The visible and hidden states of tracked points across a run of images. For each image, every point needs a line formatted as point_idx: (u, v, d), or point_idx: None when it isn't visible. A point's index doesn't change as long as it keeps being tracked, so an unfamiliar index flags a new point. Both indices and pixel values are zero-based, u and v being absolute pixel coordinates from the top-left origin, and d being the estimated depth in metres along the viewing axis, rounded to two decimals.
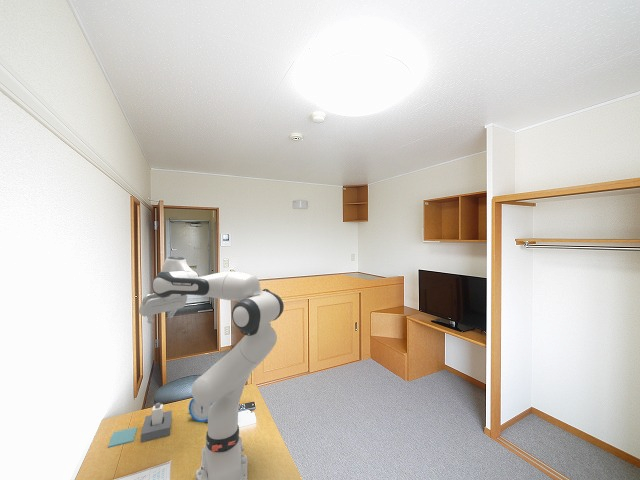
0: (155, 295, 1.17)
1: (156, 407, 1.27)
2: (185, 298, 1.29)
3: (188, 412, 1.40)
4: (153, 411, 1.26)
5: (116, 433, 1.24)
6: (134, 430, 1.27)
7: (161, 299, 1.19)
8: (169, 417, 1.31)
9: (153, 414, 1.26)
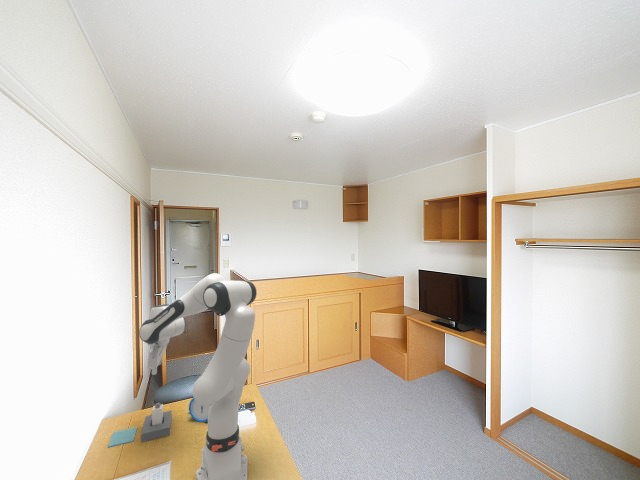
0: (156, 345, 1.23)
1: (156, 407, 1.27)
2: None
3: (188, 412, 1.40)
4: (153, 411, 1.26)
5: (116, 433, 1.24)
6: (134, 430, 1.27)
7: (161, 347, 1.26)
8: (169, 417, 1.31)
9: (153, 414, 1.26)
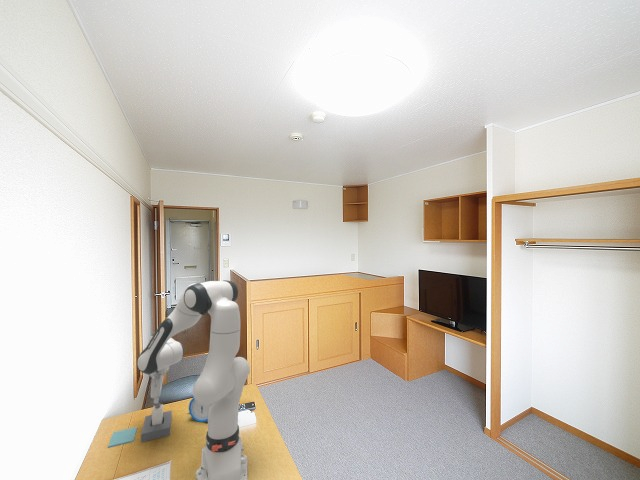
0: (158, 374, 1.24)
1: (156, 407, 1.27)
2: None
3: (188, 412, 1.40)
4: (153, 411, 1.26)
5: (116, 433, 1.24)
6: (134, 430, 1.27)
7: (161, 375, 1.26)
8: (169, 417, 1.31)
9: (153, 414, 1.26)
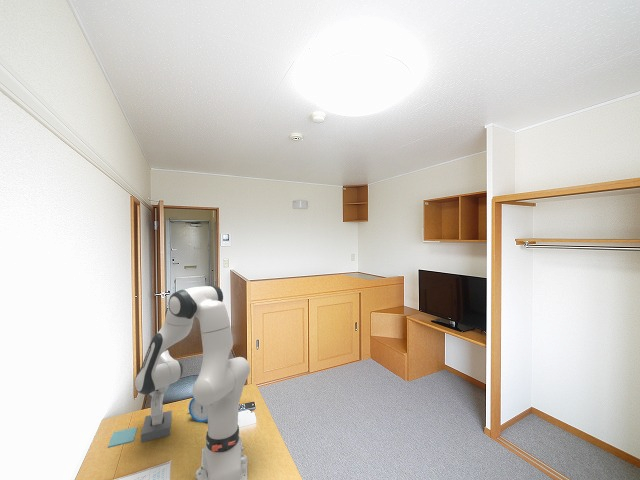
0: (157, 392, 1.24)
1: None
2: None
3: (188, 412, 1.40)
4: None
5: (116, 433, 1.24)
6: (134, 430, 1.27)
7: (161, 393, 1.26)
8: (169, 417, 1.31)
9: None
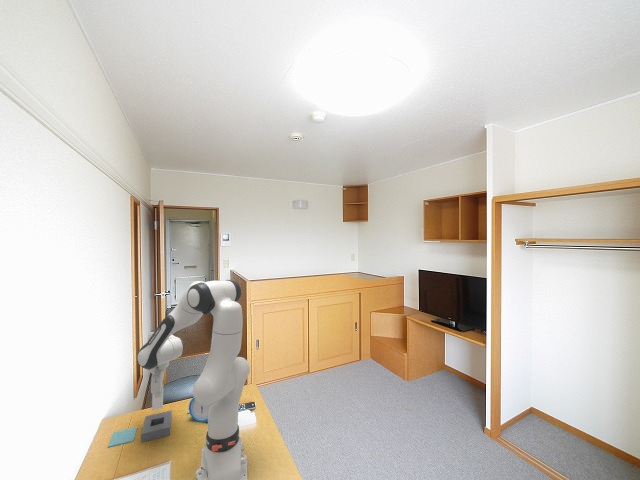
0: (158, 370, 1.24)
1: None
2: None
3: (187, 412, 1.40)
4: None
5: (116, 433, 1.24)
6: (134, 430, 1.27)
7: (161, 371, 1.26)
8: (169, 417, 1.31)
9: None
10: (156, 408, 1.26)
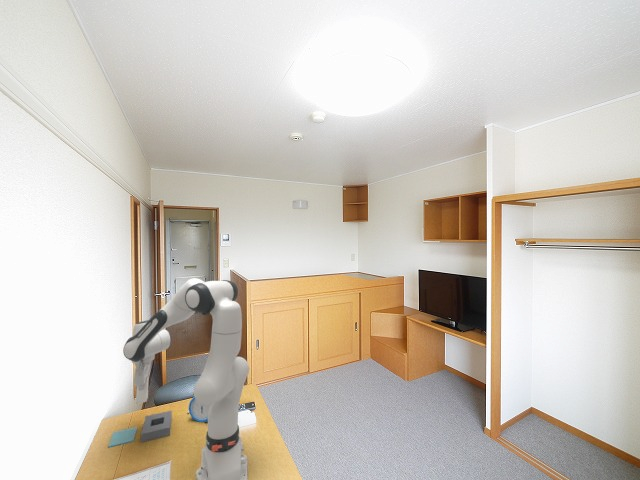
0: (142, 362, 1.22)
1: None
2: None
3: (187, 412, 1.40)
4: None
5: (116, 433, 1.24)
6: (134, 430, 1.27)
7: (146, 364, 1.24)
8: (169, 417, 1.31)
9: None
10: (140, 401, 1.24)
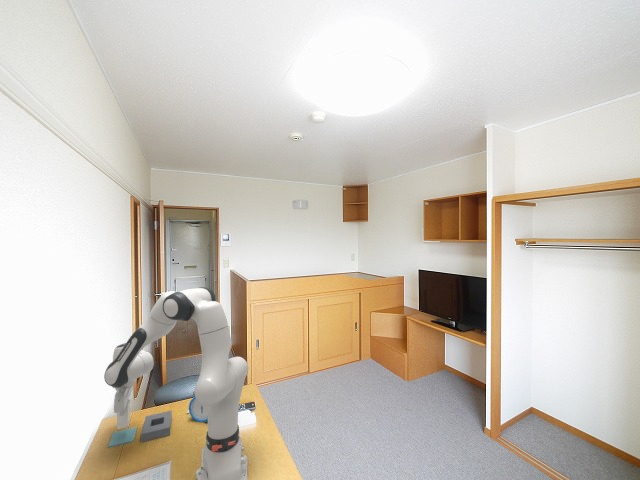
0: (122, 387, 1.18)
1: None
2: None
3: (187, 412, 1.40)
4: None
5: (116, 433, 1.24)
6: (134, 430, 1.27)
7: (127, 388, 1.21)
8: (169, 417, 1.31)
9: None
10: (121, 427, 1.21)
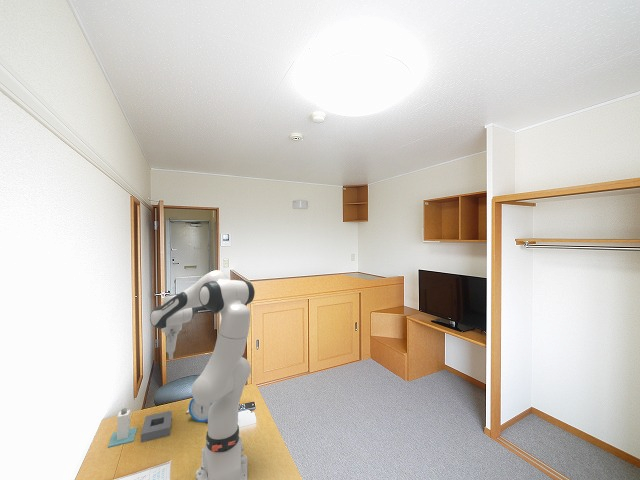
0: (172, 331, 1.33)
1: (122, 413, 1.22)
2: None
3: (186, 412, 1.40)
4: (118, 417, 1.20)
5: (116, 433, 1.24)
6: (134, 430, 1.27)
7: (175, 333, 1.35)
8: (169, 417, 1.31)
9: (118, 420, 1.20)
10: (121, 438, 1.21)
